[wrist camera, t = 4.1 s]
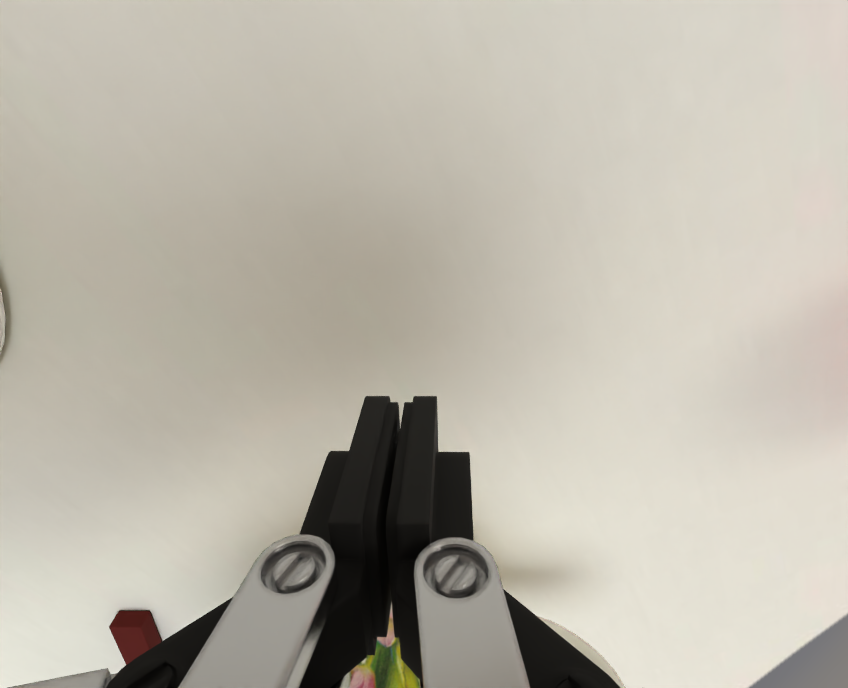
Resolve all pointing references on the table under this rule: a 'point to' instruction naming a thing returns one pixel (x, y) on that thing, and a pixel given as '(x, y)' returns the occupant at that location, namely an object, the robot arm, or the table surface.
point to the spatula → (134, 633)
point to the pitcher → (396, 684)
